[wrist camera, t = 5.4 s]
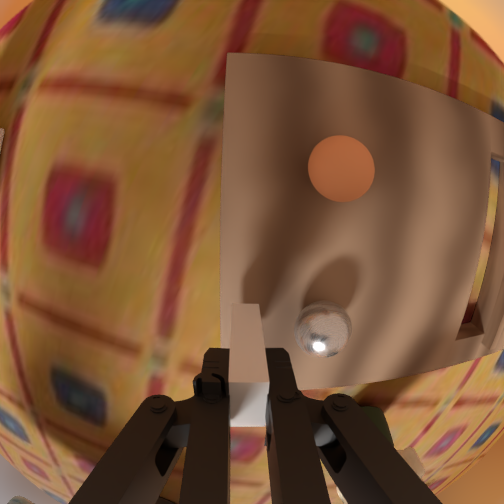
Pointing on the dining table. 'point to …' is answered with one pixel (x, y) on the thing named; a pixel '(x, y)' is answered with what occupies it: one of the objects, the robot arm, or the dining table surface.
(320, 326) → the steel ball
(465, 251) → the walnut board
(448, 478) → the dining table surface
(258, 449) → the dining table surface
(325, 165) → the rust ball
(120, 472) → the robot arm
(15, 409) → the dining table surface
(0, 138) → the skincare box
